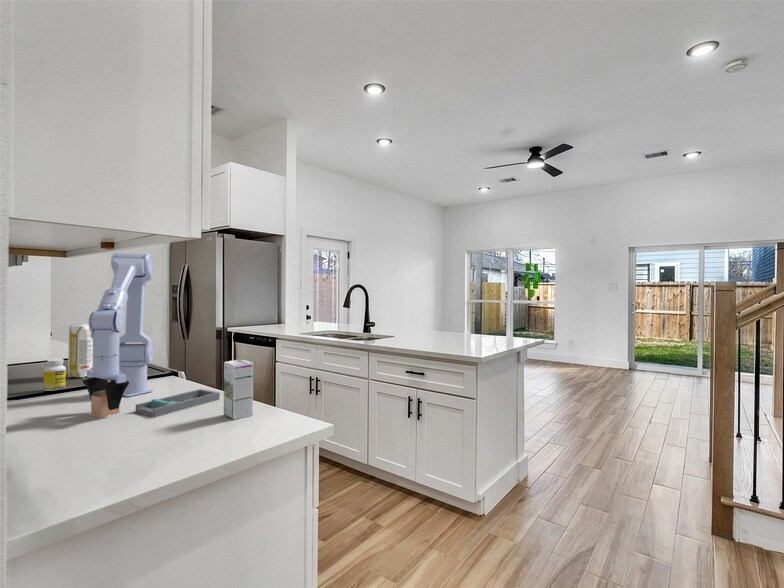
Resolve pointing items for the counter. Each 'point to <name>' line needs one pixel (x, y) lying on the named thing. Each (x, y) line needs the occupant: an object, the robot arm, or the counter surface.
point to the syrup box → (238, 389)
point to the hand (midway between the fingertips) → (105, 406)
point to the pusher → (160, 403)
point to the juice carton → (80, 350)
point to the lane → (205, 397)
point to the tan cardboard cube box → (101, 405)
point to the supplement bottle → (54, 374)
